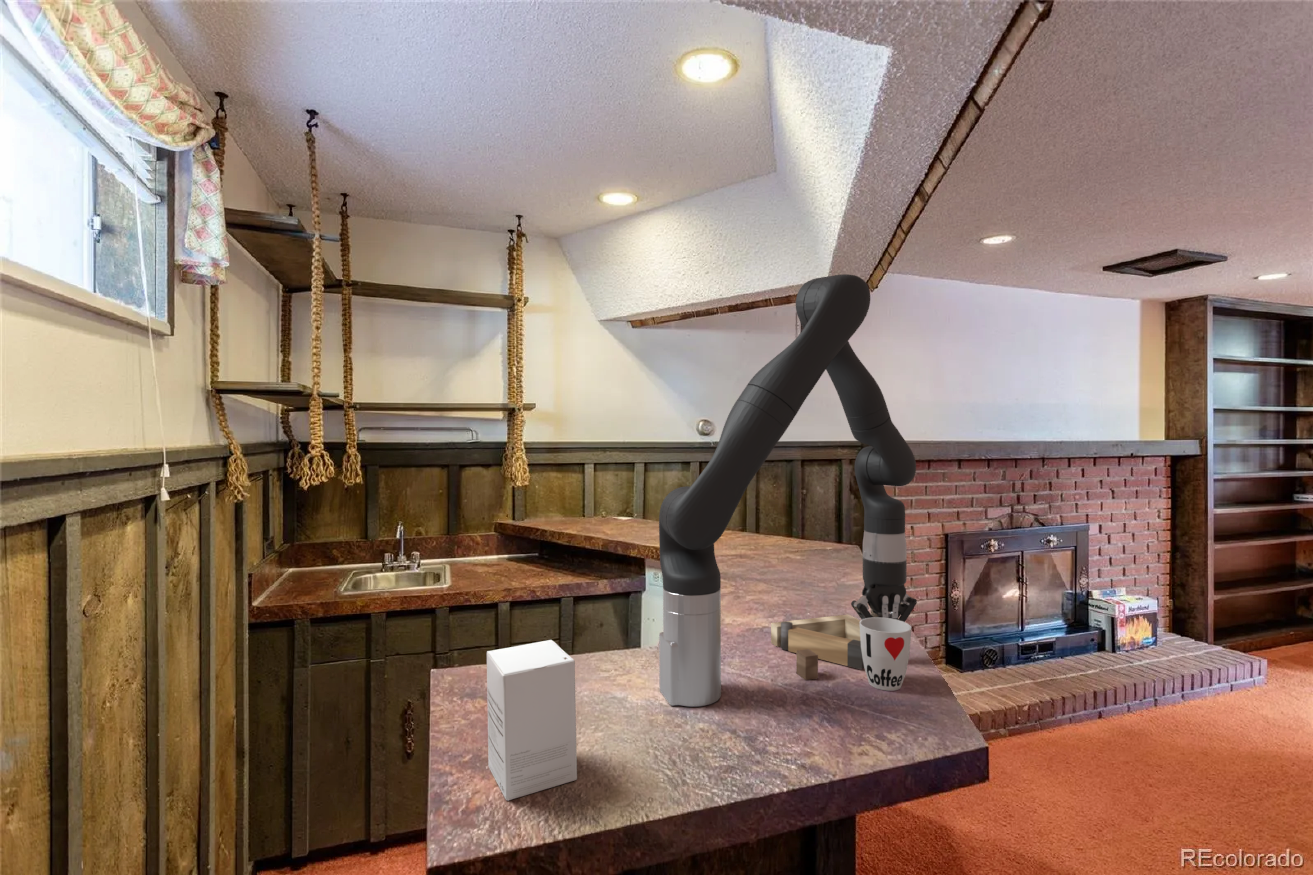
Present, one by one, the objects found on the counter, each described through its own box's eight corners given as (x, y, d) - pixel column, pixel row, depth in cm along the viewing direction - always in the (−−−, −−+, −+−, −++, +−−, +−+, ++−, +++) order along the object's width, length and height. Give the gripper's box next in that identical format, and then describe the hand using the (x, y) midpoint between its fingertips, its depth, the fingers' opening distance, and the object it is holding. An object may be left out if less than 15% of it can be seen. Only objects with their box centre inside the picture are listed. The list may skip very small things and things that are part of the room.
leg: (861, 669, 110) (861, 642, 109) (778, 648, 120) (778, 623, 120) (867, 665, 112) (867, 638, 111) (784, 644, 122) (784, 620, 122)
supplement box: (554, 748, 84) (553, 637, 84) (578, 781, 76) (577, 659, 76) (486, 765, 80) (485, 649, 79) (504, 803, 72) (503, 674, 71)
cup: (855, 688, 102) (855, 628, 102) (863, 671, 109) (863, 614, 109) (908, 698, 98) (908, 635, 98) (913, 680, 106) (913, 621, 105)
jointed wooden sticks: (805, 680, 106) (805, 656, 106) (757, 644, 123) (757, 624, 123) (907, 665, 112) (907, 643, 112) (848, 633, 129) (848, 614, 129)
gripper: (865, 563, 108) (865, 662, 108) (929, 557, 112) (928, 653, 112) (840, 554, 115) (840, 647, 116) (901, 549, 119) (900, 640, 119)
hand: (884, 650), depth 114 cm, fingers closed
